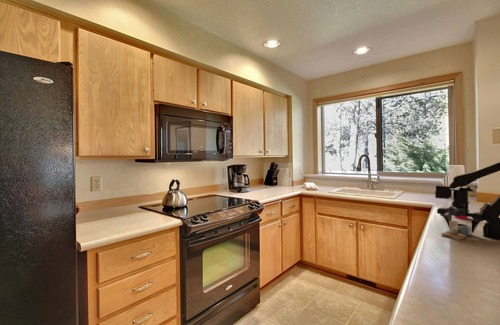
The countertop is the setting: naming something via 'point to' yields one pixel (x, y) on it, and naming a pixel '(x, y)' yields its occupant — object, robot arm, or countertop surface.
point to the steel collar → (464, 229)
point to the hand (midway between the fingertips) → (461, 230)
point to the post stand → (453, 231)
